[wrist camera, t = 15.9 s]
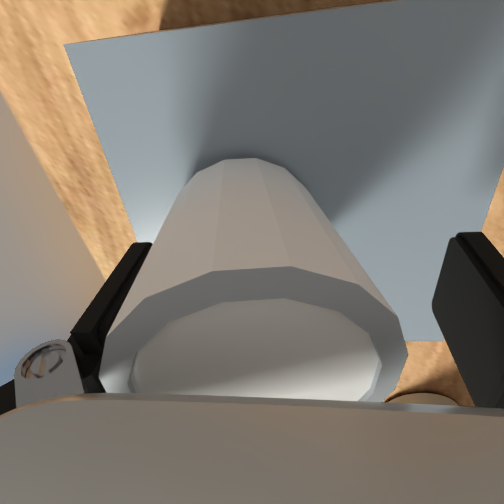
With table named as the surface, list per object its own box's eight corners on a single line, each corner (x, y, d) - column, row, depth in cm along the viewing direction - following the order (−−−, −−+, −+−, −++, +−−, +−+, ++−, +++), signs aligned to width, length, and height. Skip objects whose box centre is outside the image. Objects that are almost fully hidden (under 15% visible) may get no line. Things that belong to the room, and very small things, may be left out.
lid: (77, 42, 11) (63, 44, 10) (549, -20, 9) (568, -21, 8) (177, 326, 19) (173, 337, 19) (437, 328, 17) (442, 341, 16)
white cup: (228, 312, 16) (229, 478, 10) (115, 212, 12) (23, 379, 7) (358, 239, 14) (450, 396, 8) (267, 94, 10) (315, 193, 5)
